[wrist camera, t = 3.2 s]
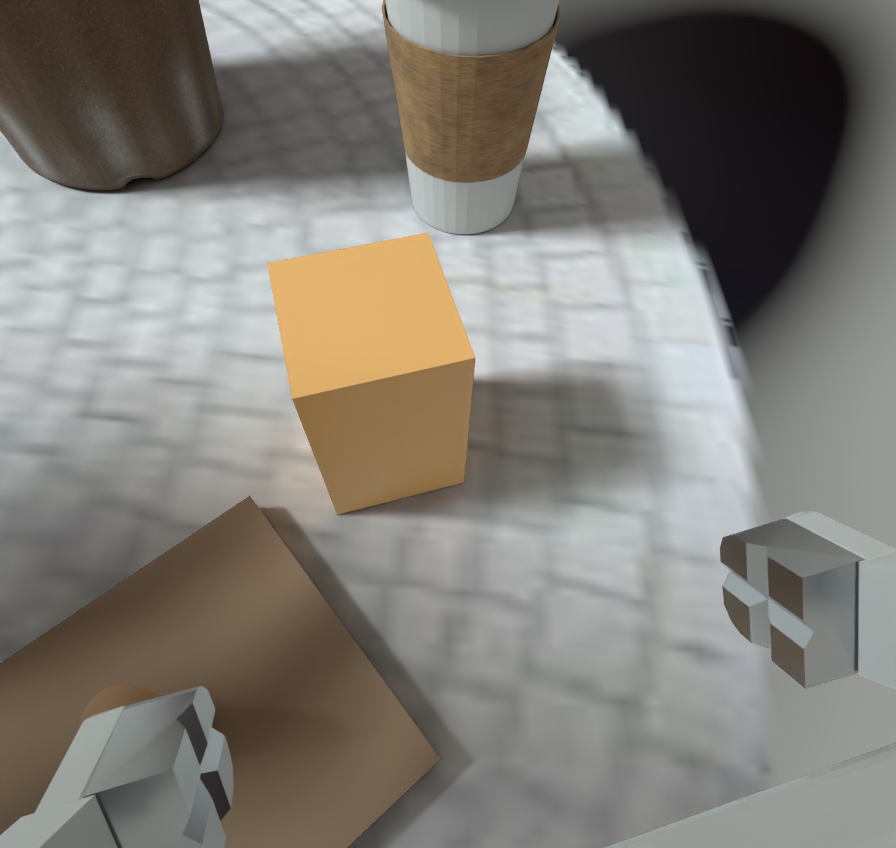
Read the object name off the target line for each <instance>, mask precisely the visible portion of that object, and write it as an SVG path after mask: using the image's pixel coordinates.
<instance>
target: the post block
mask: <svg viewBox="0 0 896 848" xmlns="http://www.w3.org/2000/svg"><path fill="white" fill-rule="evenodd" d="M198 686H203V687H204V688H205V689H207V690H208V692H209V694H210V697H211V699H212V702H213V704H214V707H215V714H214V718H213V723H212V728H213V729H215V730H217V731H218V732H220V733H222V734H223V735H225V738H226V741H227V744H228V747H229V750H230V755H231V760H232V765H233V787H234V790H233V797H232V804H231V809H230V810H229V811H228V812H227V814H226V815H225V816H224V818H223V819H222V820H221V821H220V822H221V825H222V828H223V830H224V833H225V836H226V841H225V847H224V848H348V847H349V846H350V845H351V844H352V843H353V842H354V841H355V840H356V839H357V838H358V837H359V836H360V835H361V834H362V833H363V832H365V831H366V830H367V829H368V828H369V827H370V826H371V825H372V824H373V823H374V822H375V821H376V820H377V819H378V818H379V817H380V816H381V815H382V814H383V813H385V812H386V811H387V810H388V809H389V808H390V807H391V806H392V805H393V804H394V803H395V802H396V801H397V800H398V799H399V798H400V797H401V796H402V795H403V794H405V793H406V792H407V791H408V790H409V789H410V788H411V787H412V786H413V785H414V784H415V783H416V782H417V781H418V780H419V779H420V778H421V777H422V776H423V775H425V774H426V773H427V772H428V771H429V770H430V769H431V768H432V767H433V766H434V765H435V764H436V763H437V762H438V761H439V760H440V757H439V756H438V754H437V753H436V752H435V750H434V749H433V747H432V746H431V745H430V743H429V742H428V741H427V739H426V738H425V736H424V735H423V734H422V732H421V731H420V730H419V728H418V727H417V725H416V724H415V723H414V721H413V720H412V719H411V717H410V716H409V714H408V713H407V712H406V710H405V709H404V708H403V706H402V705H401V703H400V702H399V701H398V699H397V698H396V697H395V695H394V694H393V692H392V691H391V690H390V688H389V687H388V685H387V684H386V683H385V681H384V680H383V679H382V677H381V676H380V674H379V673H378V672H377V670H376V669H375V668H374V666H373V665H372V663H371V662H370V661H369V659H368V658H367V657H366V655H365V654H364V652H363V651H362V650H361V648H360V647H359V646H358V644H357V643H356V641H355V640H354V639H353V637H352V636H351V634H350V633H349V632H348V630H347V629H346V628H345V626H344V625H343V623H342V622H341V621H340V619H339V618H338V617H337V615H336V614H335V612H334V611H333V610H332V608H331V607H330V606H329V604H328V603H327V601H326V600H325V599H324V597H323V596H322V595H321V593H320V592H319V590H318V589H317V588H316V586H315V585H314V584H313V582H312V581H311V579H310V578H309V577H308V575H307V574H306V572H305V571H304V570H303V568H302V567H301V566H300V564H299V563H298V561H297V560H296V559H295V557H294V556H293V555H292V553H291V552H290V550H289V549H288V548H287V546H286V545H285V544H284V542H283V541H282V539H281V538H280V537H279V535H278V534H277V533H276V531H275V530H274V528H273V527H272V526H271V524H270V523H269V522H268V520H267V519H266V517H265V516H264V515H263V513H262V512H261V510H260V509H259V508H258V506H257V505H256V504H255V502H254V501H253V499H252V498H251V497H250V496H249V497H247V498H246V499H244V500H243V501H241V502H240V503H238V504H237V505H235V506H234V507H232V508H231V509H229V510H228V511H226V512H225V513H223V514H222V515H221V516H219V517H218V518H216V519H215V520H213V521H212V522H210V523H209V524H207V525H206V526H204V527H203V528H201V529H200V530H198V531H197V532H195V533H194V534H192V535H191V536H189V537H188V538H186V539H185V540H183V541H182V542H180V543H179V544H177V545H176V546H174V547H173V548H171V549H170V550H168V551H167V552H165V553H164V554H163V555H161V556H160V557H158V558H157V559H155V560H154V561H152V562H151V563H149V564H148V565H146V566H145V567H143V568H142V569H140V570H139V571H137V572H136V573H134V574H133V575H131V576H130V577H128V578H127V579H125V580H124V581H122V582H121V583H119V584H118V585H116V586H115V587H113V588H112V589H110V590H109V591H107V592H106V593H105V594H103V595H102V596H100V597H99V598H97V599H96V600H94V601H93V602H91V603H90V604H88V605H87V606H85V607H84V608H82V609H81V610H79V611H78V612H76V613H75V614H73V615H72V616H70V617H69V618H67V619H66V620H64V621H63V622H61V623H60V624H58V625H57V626H55V627H54V628H52V629H51V630H49V631H48V632H47V633H45V634H44V635H42V636H41V637H39V638H38V639H36V640H35V641H33V642H32V643H30V644H29V645H27V646H26V647H24V648H23V649H21V650H20V651H18V652H17V653H15V654H14V655H12V656H11V657H9V658H8V659H6V660H5V661H3V662H2V663H0V835H1V834H2V833H4V832H5V831H6V830H7V829H8V828H9V827H10V826H12V825H13V824H14V823H15V822H16V821H17V820H18V819H20V818H21V817H23V816H26V815H30V814H33V813H35V811H36V809H37V807H38V805H39V803H40V802H41V800H42V798H43V796H44V794H45V792H46V790H47V788H48V787H49V785H50V783H51V781H52V779H53V777H54V775H55V773H56V772H57V770H58V768H59V766H60V764H61V762H62V760H63V758H64V757H65V755H66V753H67V751H68V749H69V747H70V745H71V743H72V742H73V740H74V738H75V736H76V734H77V732H78V730H79V728H80V727H81V725H82V723H83V721H84V720H85V719H87V718H89V717H90V716H92V715H95V714H98V713H102V712H105V711H108V710H112V709H115V708H118V707H122V706H129V705H130V704H134V703H138V702H141V701H145V700H149V699H153V698H157V697H160V696H164V695H168V694H172V693H175V692H179V691H183V690H187V689H190V688H194V687H198Z"/></svg>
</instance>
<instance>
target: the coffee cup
mask: <svg viewBox="0 0 896 848" xmlns="http://www.w3.org/2000/svg"><path fill="white" fill-rule="evenodd" d="M558 2H559V0H384V1H383V5H382V12H383V18H384V24H385V31H386V37H387V43H388V50H389V56H390V62H391V68H392V75H393V81H394V87H395V94H396V100H397V106H398V112H399V119H400V125H401V131H402V138H403V144H404V150H405V153H406V161H407V168H408V176H409V184H410V191H411V198H412V204H413V207H414V209H415V211H416V213H417V214H418V215H419V217H420V218H421V219H422V220H423V221H425V222H426V223H427V224H428V225H430V226H432V227H434V228H436V229H438V230H441V231H444V232H448V233H453V234H465V235H466V234H476V233H480V232H485V231H487V230H490V229H492V228H495V227H496V226H498V225H499V224H501V223H502V222H503V221H504V220H505V219H506V218H507V217H508V216H509V214H510V212H511V211H512V208H513V205H514V201H515V197H516V193H517V188H518V184H519V179H520V174H521V170H522V165H523V161H524V157H525V154H526V150H527V147H528V143H529V139H530V135H531V131H532V127H533V123H534V119H535V115H536V111H537V107H538V103H539V99H540V95H541V91H542V87H543V83H544V79H545V75H546V71H547V67H548V63H549V59H550V55H551V51H552V47H553V43H554V39H555V34H556V31H557V27H558V22H559V18H560V7H559V5H558Z"/></svg>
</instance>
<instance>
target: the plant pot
mask: <svg viewBox="0 0 896 848" xmlns="http://www.w3.org/2000/svg"><path fill="white" fill-rule="evenodd" d="M222 120H223V109H222V104H221V99H220V95H219V91H218V87H217V83H216V78H215V74H214V69H213V64H212V60H211V55H210V50H209V46H208V41H207V37H206V32H205V27H204V23H203V18H202V13H201V9H200V4H199V0H0V131H1V132H2V134H3V135H4V136H5V137H6V139H7V140H8V141H9V143H10V144H11V145H12V147H13V148H14V149H15V151H16V152H17V153H18V155H19V156H20V158H21V159H22V160H23V161H24V162H25V163H26V164H27V165H28V166H29V167H30V168H31V169H32V170H33V171H34V172H36V173H37V174H39V175H41V176H42V177H45V178H47V179H49V180H51V181H54V182H56V183H59V184H62V185H66V186H71V187H76V188H82V189H93V190H110V189H120V188H123V187H125V186H126V184H127V183H128V182H129V181H130V180H132V179H136V178H142V177H146V178H153V179H162V178H164V177H166V176H169V175H171V174H173V173H175V172H177V171H179V170H180V169H182V168H184V167H185V166H187V165H188V164H190V163H191V162H193V161H194V160H195V159H196V158H198V157H199V156H200V155H201V154H202V153H203V152H204V151H205V150H206V149H207V148H208V147H209V146H210V145H211V144H212V142H213V141H214V140H215V138H216V136H217V134H218V133H219V131H220V129H221V126H222Z"/></svg>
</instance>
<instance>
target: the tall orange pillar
mask: <svg viewBox="0 0 896 848" xmlns="http://www.w3.org/2000/svg"><path fill="white" fill-rule="evenodd" d="M267 265H268V270H269V275H270V281H271V286H272V292H273V297H274V302H275V308H276V313H277V319H278V324H279V329H280V335H281V340H282V346H283V351H284V357H285V362H286V367H287V373H288V378H289V384H290V389H291V394H292V399H293V402H294V404H295V407H296V410H297V412H298V415H299V417H300V420H301V422H302V425H303V428H304V430H305V433H306V435H307V438H308V440H309V443H310V446H311V448H312V451H313V453H314V456H315V459H316V461H317V464H318V466H319V469H320V471H321V474H322V477H323V479H324V482H325V484H326V487H327V489H328V492H329V495H330V497H331V500H332V502H333V505H334V507H335V510H336V513H337V515H339V514H343V513H347V512H351V511H354V510H358V509H362V508H366V507H370V506H374V505H378V504H382V503H386V502H390V501H394V500H398V499H401V498H405V497H409V496H413V495H417V494H421V493H425V492H429V491H433V490H437V489H441V488H445V487H449V486H452V485H456V484H460V483H464V478H465V467H466V456H467V445H468V434H469V423H470V412H471V401H472V390H473V379H474V368H475V355H474V353H473V350H472V348H471V345H470V342H469V340H468V337H467V334H466V332H465V329H464V326H463V324H462V321H461V318H460V316H459V313H458V310H457V308H456V305H455V302H454V300H453V297H452V295H451V292H450V289H449V287H448V284H447V281H446V279H445V276H444V273H443V271H442V268H441V265H440V263H439V260H438V257H437V255H436V252H435V249H434V247H433V244H432V241H431V239H430V236H429V234H428V233H424V234H418V235H413V236H408V237H403V238H397V239H392V240H387V241H381V242H376V243H371V244H365V245H360V246H355V247H350V248H344V249H339V250H334V251H328V252H323V253H318V254H313V255H307V256H302V257H297V258H291V259H286V260H281V261H276V262H270V263H267Z"/></svg>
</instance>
